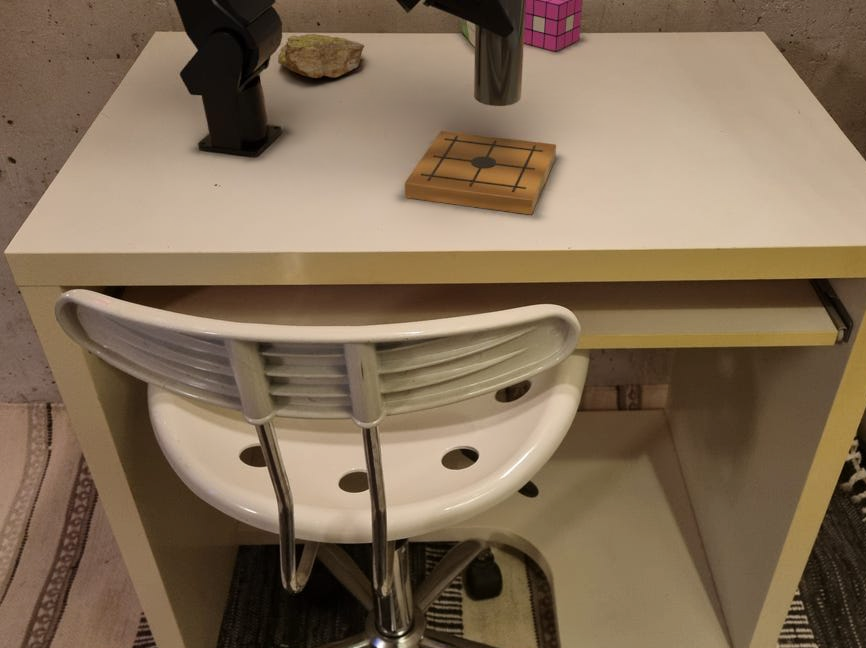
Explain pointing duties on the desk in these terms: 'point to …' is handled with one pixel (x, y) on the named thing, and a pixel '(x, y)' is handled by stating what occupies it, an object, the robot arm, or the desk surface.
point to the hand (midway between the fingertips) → (514, 25)
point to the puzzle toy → (552, 23)
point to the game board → (482, 172)
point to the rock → (320, 55)
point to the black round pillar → (500, 59)
